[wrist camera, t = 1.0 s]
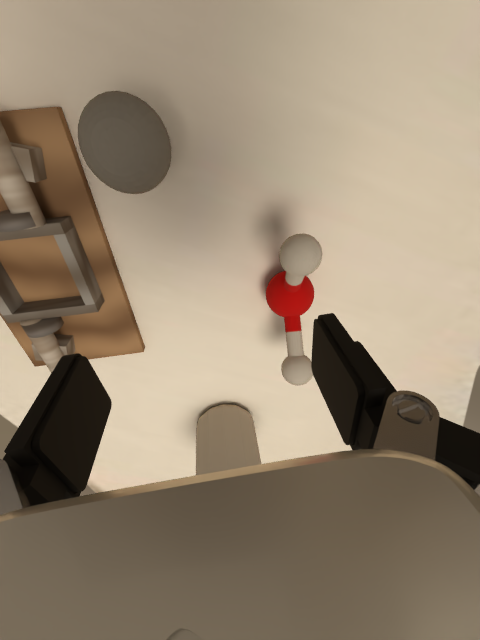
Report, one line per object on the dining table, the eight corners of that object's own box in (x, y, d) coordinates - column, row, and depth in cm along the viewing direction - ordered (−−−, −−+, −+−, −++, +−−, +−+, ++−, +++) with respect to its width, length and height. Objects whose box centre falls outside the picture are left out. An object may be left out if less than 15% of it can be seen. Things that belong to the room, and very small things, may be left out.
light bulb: (94, 142, 25) (42, 146, 17) (135, 82, 23) (99, 54, 15) (150, 194, 28) (129, 220, 19) (191, 144, 26) (187, 150, 18)
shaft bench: (-117, 122, 22) (-190, 120, 18) (61, 107, 23) (30, 102, 19) (38, 361, 37) (18, 390, 33) (144, 347, 38) (138, 373, 34)
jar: (232, 392, 45) (248, 519, 30) (262, 420, 50) (288, 542, 35) (184, 417, 47) (177, 549, 32) (217, 442, 52) (224, 566, 37)
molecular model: (246, 219, 30) (263, 252, 22) (299, 206, 30) (336, 234, 22) (269, 341, 40) (288, 396, 32) (309, 332, 40) (338, 384, 32)
